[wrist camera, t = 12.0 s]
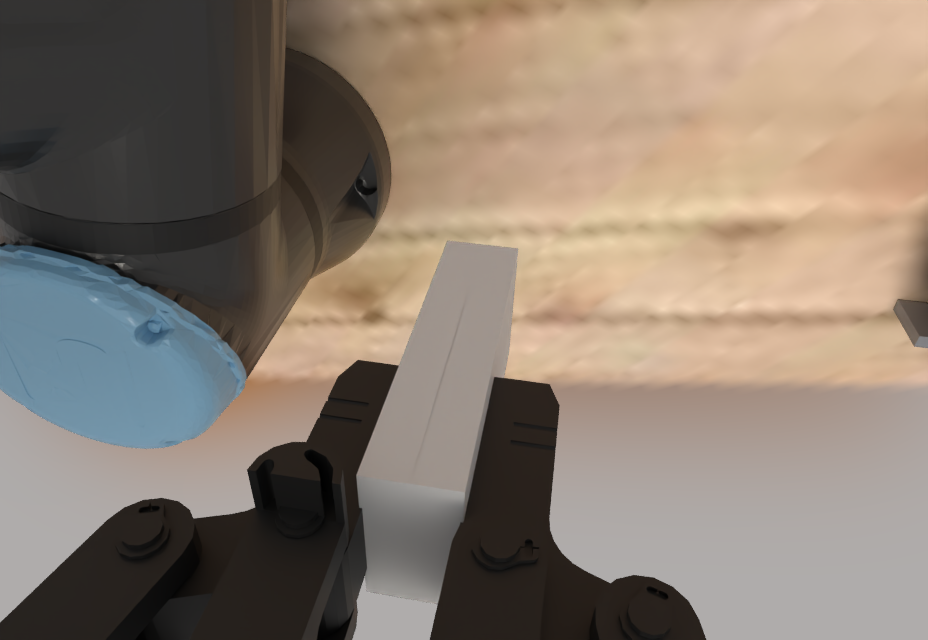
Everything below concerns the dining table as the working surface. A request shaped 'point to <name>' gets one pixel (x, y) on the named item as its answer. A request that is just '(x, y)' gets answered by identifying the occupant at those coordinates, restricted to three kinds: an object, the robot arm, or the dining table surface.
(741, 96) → the dining table surface
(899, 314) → the box
